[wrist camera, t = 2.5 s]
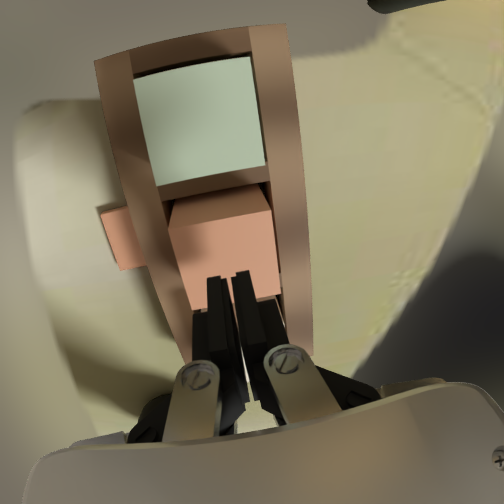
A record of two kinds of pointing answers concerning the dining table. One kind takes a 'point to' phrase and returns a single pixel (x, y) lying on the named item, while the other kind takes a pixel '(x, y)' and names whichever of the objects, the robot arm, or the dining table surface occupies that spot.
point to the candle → (396, 5)
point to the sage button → (200, 120)
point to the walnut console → (271, 174)
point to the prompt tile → (123, 238)
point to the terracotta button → (224, 241)
